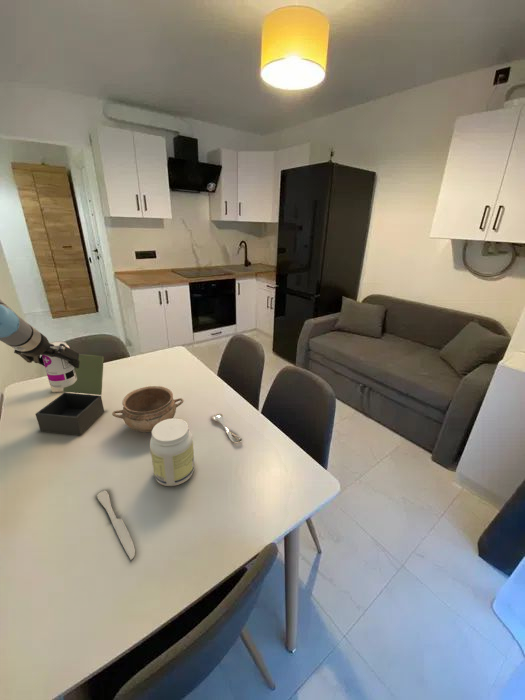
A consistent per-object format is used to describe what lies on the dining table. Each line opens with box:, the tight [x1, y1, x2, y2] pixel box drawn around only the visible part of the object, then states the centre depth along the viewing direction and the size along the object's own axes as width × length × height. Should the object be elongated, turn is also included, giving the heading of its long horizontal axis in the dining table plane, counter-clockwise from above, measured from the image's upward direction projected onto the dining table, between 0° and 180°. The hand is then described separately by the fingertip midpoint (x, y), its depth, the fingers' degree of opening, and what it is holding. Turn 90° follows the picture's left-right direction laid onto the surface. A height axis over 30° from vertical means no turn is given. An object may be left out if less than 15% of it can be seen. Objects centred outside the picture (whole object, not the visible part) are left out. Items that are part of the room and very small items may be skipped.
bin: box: [35, 392, 105, 436], centre depth 110 cm, size 14×15×8 cm
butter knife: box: [96, 490, 136, 560], centre depth 75 cm, size 1×24×3 cm
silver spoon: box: [210, 412, 243, 443], centre depth 110 cm, size 20×4×5 cm
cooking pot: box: [111, 385, 184, 433], centre depth 109 cm, size 25×19×12 cm
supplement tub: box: [149, 417, 196, 487], centre depth 88 cm, size 12×12×17 cm
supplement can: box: [41, 340, 77, 388], centre depth 102 cm, size 8×8×15 cm
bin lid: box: [62, 353, 105, 396], centre depth 115 cm, size 15×15×1 cm
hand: (64, 365), depth 106 cm, fingers closed on supplement can, 8 cm apart
